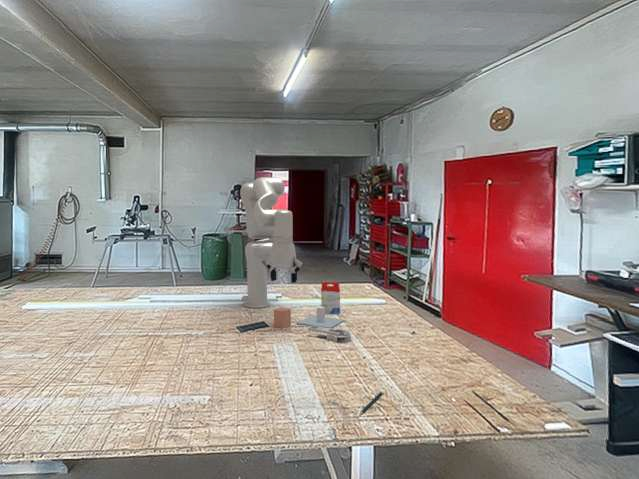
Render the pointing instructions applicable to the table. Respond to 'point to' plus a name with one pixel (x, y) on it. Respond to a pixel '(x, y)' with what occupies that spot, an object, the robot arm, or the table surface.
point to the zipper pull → (333, 334)
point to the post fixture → (320, 320)
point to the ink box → (330, 297)
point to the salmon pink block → (282, 317)
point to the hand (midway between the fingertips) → (283, 281)
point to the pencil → (371, 403)
